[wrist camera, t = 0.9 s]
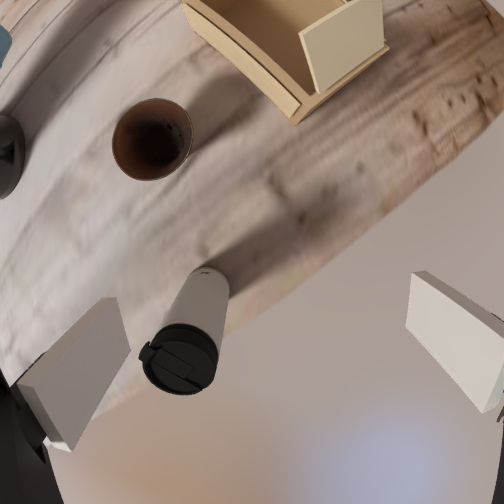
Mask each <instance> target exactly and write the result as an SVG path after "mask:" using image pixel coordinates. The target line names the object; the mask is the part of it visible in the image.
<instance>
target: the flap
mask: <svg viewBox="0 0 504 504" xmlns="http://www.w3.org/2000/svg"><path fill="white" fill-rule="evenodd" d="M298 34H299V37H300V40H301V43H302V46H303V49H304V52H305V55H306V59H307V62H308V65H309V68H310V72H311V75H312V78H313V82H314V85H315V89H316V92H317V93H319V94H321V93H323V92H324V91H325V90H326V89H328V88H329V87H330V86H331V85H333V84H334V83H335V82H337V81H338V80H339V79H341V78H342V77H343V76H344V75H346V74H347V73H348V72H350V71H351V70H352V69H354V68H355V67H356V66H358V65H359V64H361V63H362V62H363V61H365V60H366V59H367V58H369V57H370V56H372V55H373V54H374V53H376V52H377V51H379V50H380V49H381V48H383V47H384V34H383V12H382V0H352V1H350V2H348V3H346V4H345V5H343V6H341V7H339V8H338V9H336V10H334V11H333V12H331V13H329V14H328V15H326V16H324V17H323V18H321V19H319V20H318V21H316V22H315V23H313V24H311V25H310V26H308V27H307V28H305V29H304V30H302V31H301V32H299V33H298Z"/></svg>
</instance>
